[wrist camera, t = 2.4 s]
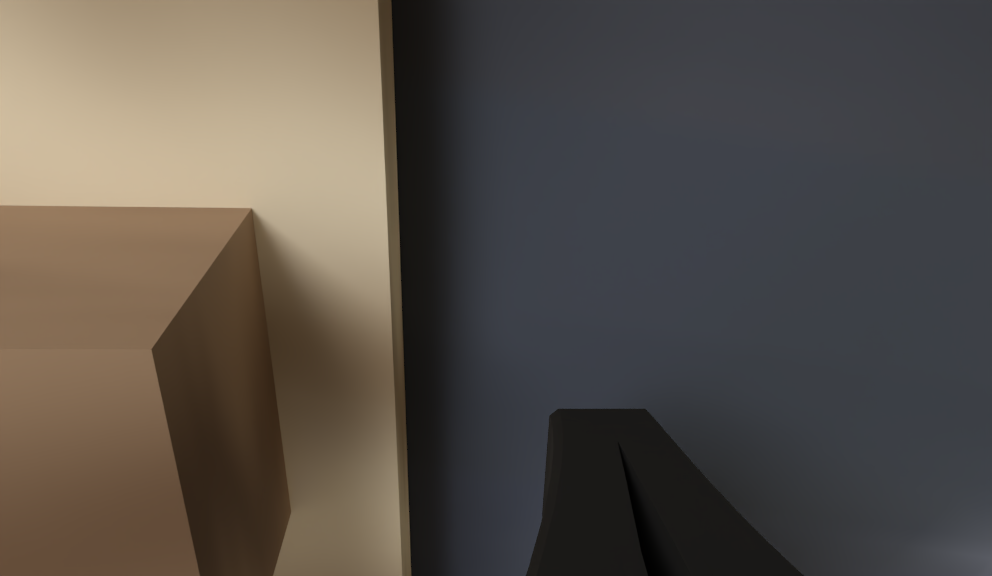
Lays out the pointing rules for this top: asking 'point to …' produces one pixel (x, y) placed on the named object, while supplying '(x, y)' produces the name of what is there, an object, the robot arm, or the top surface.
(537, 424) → the top surface
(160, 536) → the walnut block
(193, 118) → the trap deck
